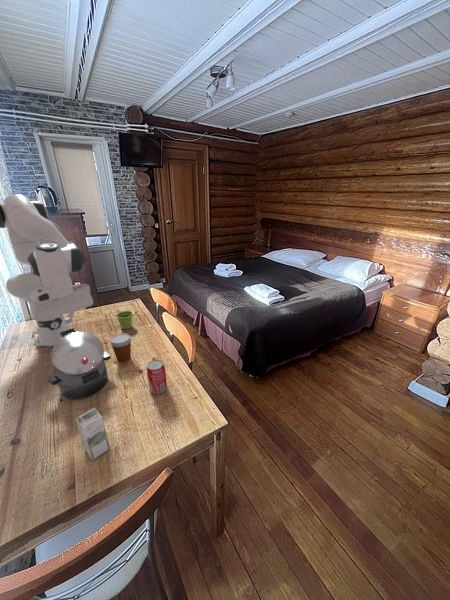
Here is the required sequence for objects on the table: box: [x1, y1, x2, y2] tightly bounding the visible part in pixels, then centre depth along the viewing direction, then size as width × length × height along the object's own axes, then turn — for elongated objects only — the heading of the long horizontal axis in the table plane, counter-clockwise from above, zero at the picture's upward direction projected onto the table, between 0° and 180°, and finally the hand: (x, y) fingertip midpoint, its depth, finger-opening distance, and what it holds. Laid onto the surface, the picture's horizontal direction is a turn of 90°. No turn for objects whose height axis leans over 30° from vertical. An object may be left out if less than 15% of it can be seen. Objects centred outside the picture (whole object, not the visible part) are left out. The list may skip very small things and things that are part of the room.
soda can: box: [146, 359, 168, 395], centre depth 105 cm, size 7×7×13 cm
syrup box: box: [75, 407, 111, 461], centre depth 80 cm, size 6×6×14 cm
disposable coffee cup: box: [109, 333, 132, 364], centre depth 124 cm, size 10×10×12 cm
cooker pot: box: [46, 350, 111, 401], centre depth 107 cm, size 19×23×11 cm
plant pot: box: [115, 310, 134, 330], centre depth 153 cm, size 9×9×9 cm
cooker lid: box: [51, 327, 105, 376], centre depth 101 cm, size 20×18×4 cm
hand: (68, 322), depth 99 cm, fingers closed
